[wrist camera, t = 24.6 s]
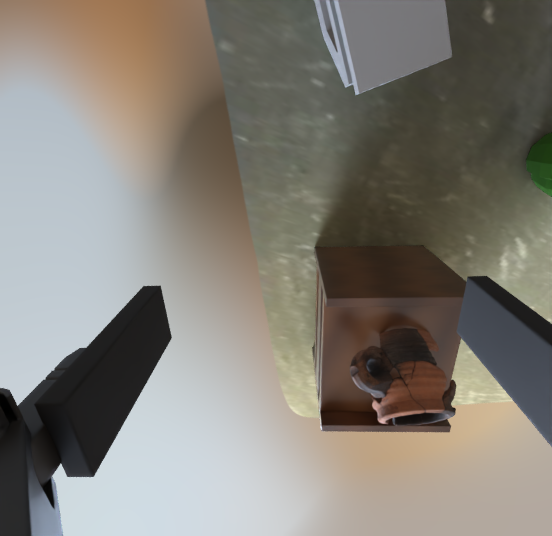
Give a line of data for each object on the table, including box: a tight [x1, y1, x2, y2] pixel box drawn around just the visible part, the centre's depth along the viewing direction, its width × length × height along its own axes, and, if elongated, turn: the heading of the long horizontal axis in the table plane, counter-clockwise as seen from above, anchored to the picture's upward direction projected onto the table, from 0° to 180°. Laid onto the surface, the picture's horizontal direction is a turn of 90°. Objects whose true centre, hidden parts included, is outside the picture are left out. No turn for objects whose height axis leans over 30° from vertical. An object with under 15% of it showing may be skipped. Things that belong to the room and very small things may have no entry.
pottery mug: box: [350, 328, 456, 426], centre depth 34 cm, size 12×9×8 cm
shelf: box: [312, 246, 467, 432], centre depth 41 cm, size 15×18×15 cm
